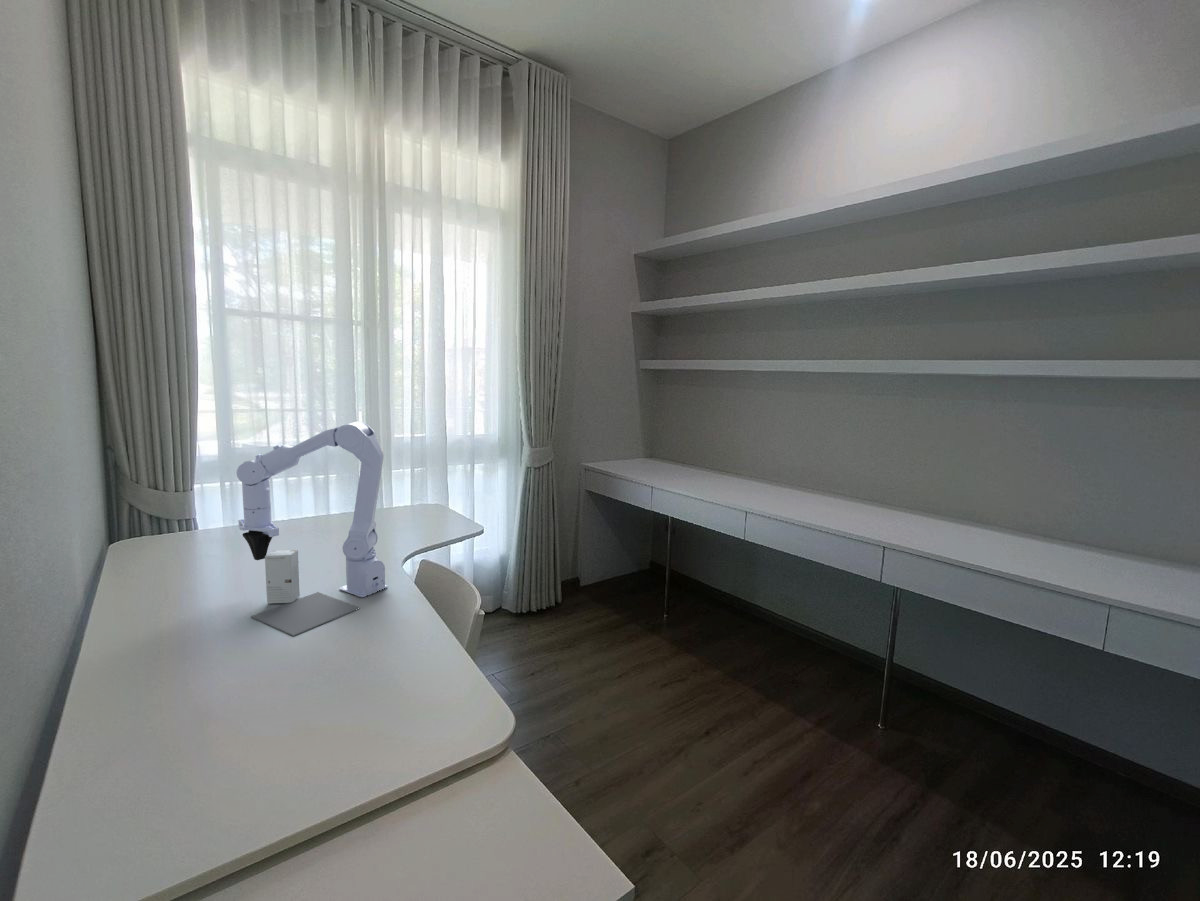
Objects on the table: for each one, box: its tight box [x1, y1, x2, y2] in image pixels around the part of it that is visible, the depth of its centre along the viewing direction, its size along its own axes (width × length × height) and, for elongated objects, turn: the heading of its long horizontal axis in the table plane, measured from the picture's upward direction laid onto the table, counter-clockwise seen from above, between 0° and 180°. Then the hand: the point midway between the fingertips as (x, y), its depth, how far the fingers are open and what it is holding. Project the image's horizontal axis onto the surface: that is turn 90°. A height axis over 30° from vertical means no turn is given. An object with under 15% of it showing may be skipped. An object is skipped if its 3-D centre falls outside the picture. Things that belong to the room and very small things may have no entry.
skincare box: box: [264, 549, 301, 604], centre depth 125 cm, size 6×4×12 cm
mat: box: [250, 591, 360, 637], centre depth 120 cm, size 16×16×1 cm
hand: (259, 558), depth 130 cm, fingers closed
